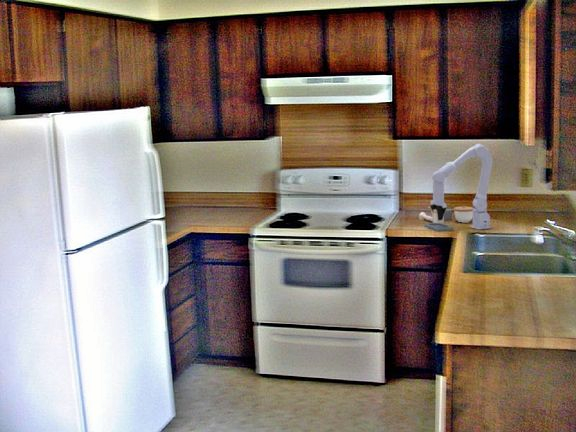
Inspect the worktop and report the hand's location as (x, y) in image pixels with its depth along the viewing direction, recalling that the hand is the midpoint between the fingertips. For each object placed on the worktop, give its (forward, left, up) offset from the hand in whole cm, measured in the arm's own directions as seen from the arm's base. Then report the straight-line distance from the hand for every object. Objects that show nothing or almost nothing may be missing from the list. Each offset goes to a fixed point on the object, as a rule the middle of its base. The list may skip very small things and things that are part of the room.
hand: (438, 219), depth 400 cm
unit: (+19, -13, -5) cm, 24 cm away
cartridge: (0, 0, -2) cm, 2 cm away
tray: (0, 0, -5) cm, 5 cm away
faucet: (+20, -5, -5) cm, 21 cm away
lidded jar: (+10, -21, -5) cm, 24 cm away
